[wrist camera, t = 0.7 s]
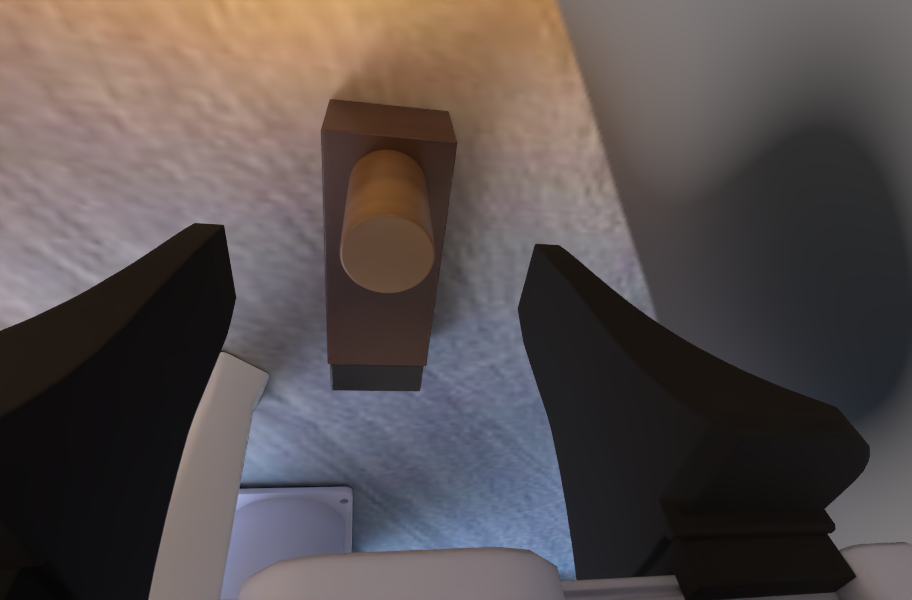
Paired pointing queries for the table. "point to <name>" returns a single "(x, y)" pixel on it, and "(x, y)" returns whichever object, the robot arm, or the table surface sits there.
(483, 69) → the table surface
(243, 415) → the perfume bottle
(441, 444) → the table surface
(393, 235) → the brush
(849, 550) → the robot arm
